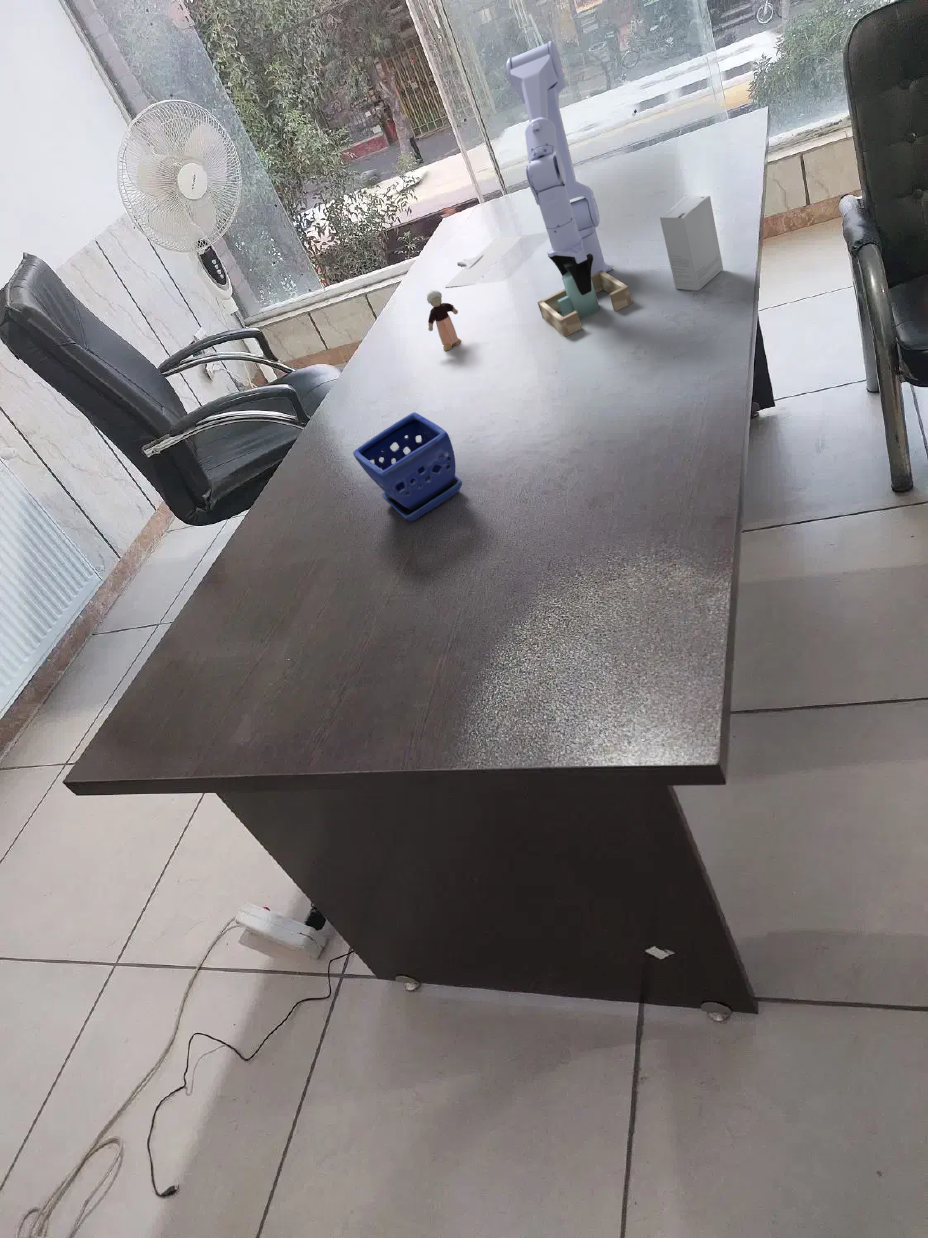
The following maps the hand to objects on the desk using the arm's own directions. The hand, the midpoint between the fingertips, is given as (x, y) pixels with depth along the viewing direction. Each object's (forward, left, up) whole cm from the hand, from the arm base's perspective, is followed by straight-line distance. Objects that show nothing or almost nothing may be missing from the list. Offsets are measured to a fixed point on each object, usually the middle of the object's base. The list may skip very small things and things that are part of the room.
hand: (579, 287), depth 175 cm
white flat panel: (-53, -4, -6) cm, 53 cm away
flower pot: (+39, -47, -5) cm, 61 cm away
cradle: (+1, 0, -5) cm, 5 cm away
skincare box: (+11, +20, -5) cm, 24 cm away
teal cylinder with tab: (0, -1, -5) cm, 5 cm away
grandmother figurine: (-16, -26, -5) cm, 31 cm away
